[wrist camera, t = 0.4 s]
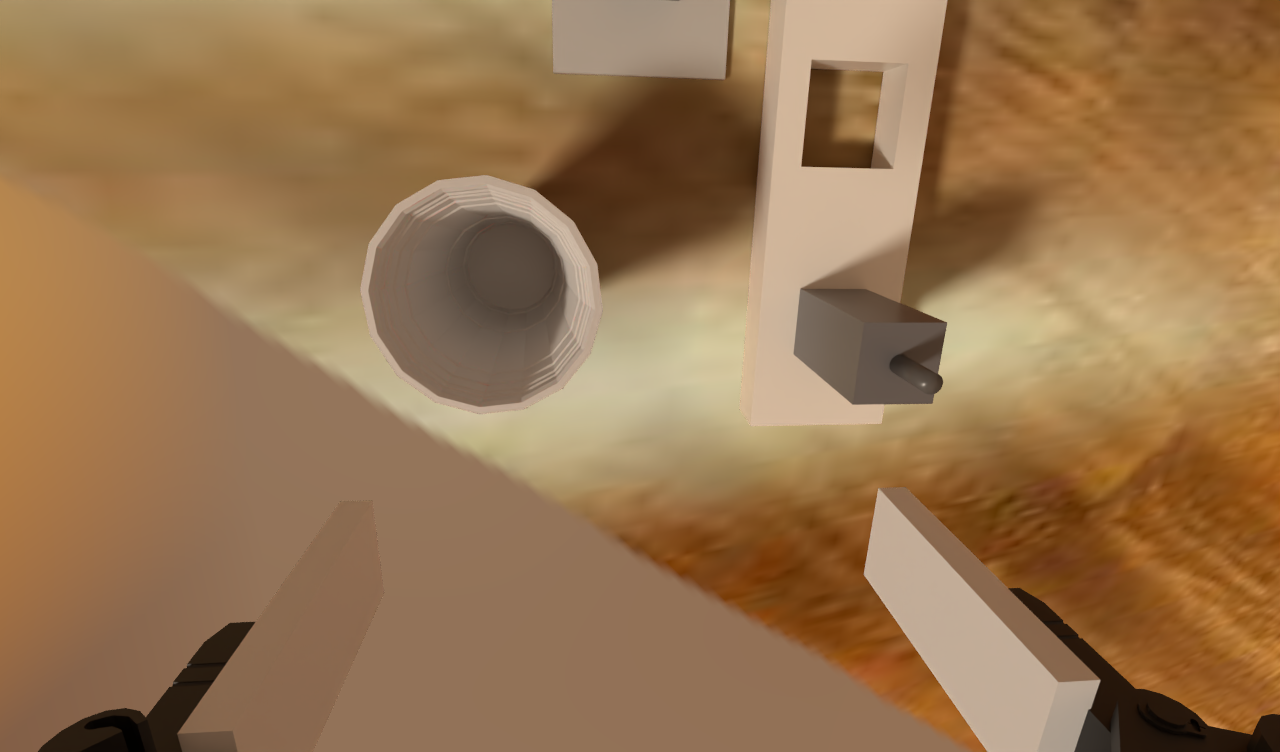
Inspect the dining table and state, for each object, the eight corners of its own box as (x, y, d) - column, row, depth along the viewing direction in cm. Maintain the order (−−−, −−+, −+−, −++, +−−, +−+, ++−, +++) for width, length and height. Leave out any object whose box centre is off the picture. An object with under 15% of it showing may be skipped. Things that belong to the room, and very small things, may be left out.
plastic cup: (513, 134, 37) (485, 117, 25) (630, 274, 40) (651, 314, 29) (382, 254, 38) (300, 288, 27) (505, 379, 41) (478, 458, 30)
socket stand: (772, -15, 36) (901, -137, 21) (921, -7, 36) (1141, -119, 22) (739, 409, 44) (817, 524, 29) (862, 407, 45) (995, 518, 30)
